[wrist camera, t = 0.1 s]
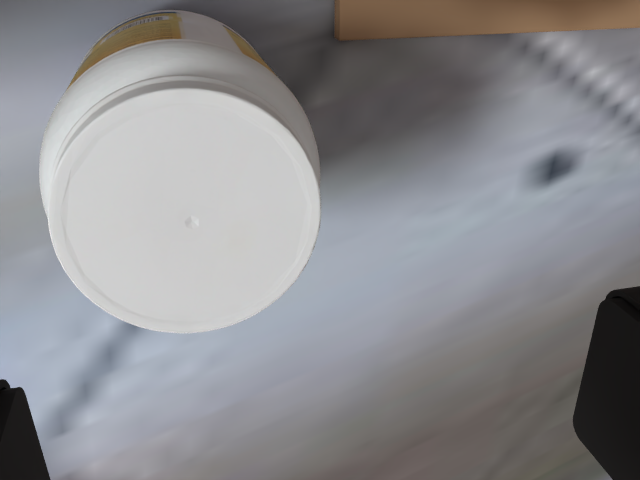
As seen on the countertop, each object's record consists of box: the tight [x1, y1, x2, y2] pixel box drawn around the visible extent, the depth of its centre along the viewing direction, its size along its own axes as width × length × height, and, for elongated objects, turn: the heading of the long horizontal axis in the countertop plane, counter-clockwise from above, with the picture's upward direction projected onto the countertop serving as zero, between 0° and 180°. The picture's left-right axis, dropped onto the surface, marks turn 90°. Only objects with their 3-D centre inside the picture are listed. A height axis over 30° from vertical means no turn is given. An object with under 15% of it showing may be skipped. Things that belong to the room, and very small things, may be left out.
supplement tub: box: [39, 10, 321, 333], centre depth 31 cm, size 12×12×17 cm
